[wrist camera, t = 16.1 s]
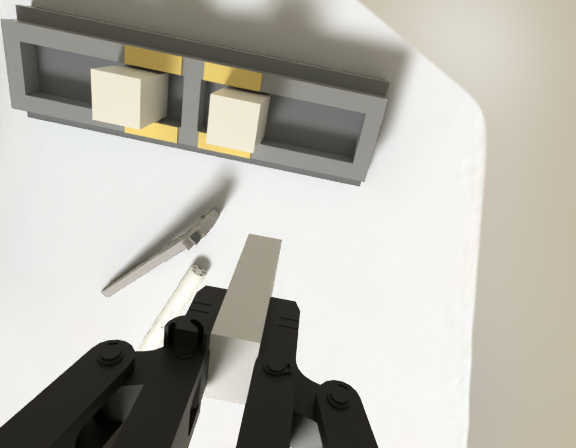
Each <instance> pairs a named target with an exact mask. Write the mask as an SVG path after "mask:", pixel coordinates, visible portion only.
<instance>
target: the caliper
mask: <svg viewBox="0 0 576 448" xmlns="http://www.w3.org/2000/svg"><path fill="white" fill-rule="evenodd" d="M219 216H220V214H219V213H218V212H217V211H216V209H215V208H213V209H212V210H211V211H210V212H209V213H208V215H207V216H206V217H205V216H204V215H203V216H202V217H201V218H200V219H199V220H198V221H197V222H196V223H195V224H194V225H193V226H192V227H191V228H190V229H189V230H188V231H187V232H186V233H185V234H183V235H181V236H179V237H178V238H176V239H175V240H173V241H171V242H170V243H169V244H168V245H167V247H165V248H164V249H162V250H161V251H159V252H158V253H156V254H155V255H153V256H152V257H150V258H149V259H147V260H146V261H144V262H143V263H141V264H140V265H138V266H137V267H135V268H134V269H132V270H131V271H129V272H128V273H126V274H125V275H124V276H122V277H121V278H119V279H118V280H116V281H115V282H113V283H112V284H111V285H109V286H108V287H107V288H106V289H104V290H103V291H101V293H102V294H103V295H104V296H105V297H110V296H112V295H113V294H115V293H116V292H118V291H119V290H121V289H122V288H124V287H126V286H127V285H129V284H130V283H132V282H133V281H135V280H136V279H138V278H139V277H141V276H143V275H144V274H146V273H147V272H149V271H150V270H152V269H153V268H155V267H156V266H158V265H160V264H161V263H163V262H166V261H167V260H169V259H171V258H172V257H174V256H175V255H177V254H178V253H180V252H182V251H183V250H185V249H186V248H187V249H188V250H189V249H190V248H191V247H192V246H193V245H194V244H195V245H197V244H198V242H199V241H200V240H201V239H202V238H203V237H205V236H206V234H207V233H208V232H209V231H210V229H211V228H212V227H213V226H214V224H215V222H216V221H217V219H218V217H219Z"/></svg>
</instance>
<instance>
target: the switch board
mask: <svg viewBox="0 0 576 448" xmlns="http://www.w3.org/2000/svg"><path fill="white" fill-rule="evenodd" d="M16 13H17V20H13V19H1V26H2V34H3V42H4V50H5V58H6V66H7V74H8V82H9V89H10V97H11V105H12V108H14V109H18V110H23V111H27V114H28V117H31V118H35V119H40V120H45V121H50V122H54V123H59V124H64V125H69V126H74V127H78V128H83V129H88V130H93V131H97V132H102V133H107V134H112V135H117V136H121V137H126V138H131V139H136V140H140V141H145V142H150V143H155V144H160V145H164V146H169V147H174V148H179V149H183V150H188V151H193V152H198V153H202V154H207V155H212V156H217V157H222V158H226V159H231V160H236V161H241V162H245V163H250V164H255V165H260V166H265V167H269V168H274V169H279V170H284V171H288V172H293V173H298V174H303V175H308V176H312V177H317V178H322V179H327V180H331V181H336V182H341V183H346V184H351V185H355V186H360V183H361V181H362V182H365V178H366V175H367V171H368V168H369V165H370V161H371V158H372V154H373V151H374V147H375V144H376V140H377V137H378V133H379V130H380V127H381V123H382V120H383V116H384V113H385V109H386V106H387V102H388V99H387V98H386V97H385V96H386V92H387V89H388V85H389V82H388V81H387V80H382V79H377V78H373V77H368V76H363V75H358V74H353V73H349V72H344V71H339V70H334V69H329V68H325V67H320V66H315V65H310V64H305V63H301V62H296V61H291V60H286V59H281V58H277V57H272V56H267V55H262V54H257V53H253V52H248V51H243V50H238V49H233V48H229V47H224V46H219V45H214V44H209V43H205V42H200V41H195V40H190V39H185V38H180V37H176V36H171V35H166V34H161V33H156V32H152V31H147V30H142V29H137V28H132V27H128V26H123V25H118V24H113V23H108V22H104V21H99V20H94V19H89V18H84V17H80V16H75V15H70V14H65V13H60V12H56V11H51V10H46V9H41V8H36V7H32V6H22V5H16ZM122 64H129V65H134V66H139V67H143V68H148V69H153V70H158V71H163V72H167V73H169V80H168V101H167V116H166V117H164V118H162V119H160V120H158V121H156V122H154V123H152V124H150V125H148V126H146V127H144V128H142V129H140V130H139V129H134V128H130V127H125V126H120V125H115V124H111V123H106V122H101V121H96V120H93V119H92V92H91V69H93V68H100V67H107V66H115V65H122ZM228 85H230V86H234V87H239V88H244V89H249V90H254V91H258V92H263V93H268V94H271V97H270V103H269V109H268V116H267V122H266V128H265V134H264V138H263V139H262V141H261V142H260V144H259V145H258V147H257V148H256V150H255V152H254V153H249V152H244V151H240V150H235V149H230V148H225V147H220V146H216V145H211V144H206V137H207V127H208V116H209V105H210V95H211V93H213V92H215V91H217V90H219V89H222V88H224V87H226V86H228Z"/></svg>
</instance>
